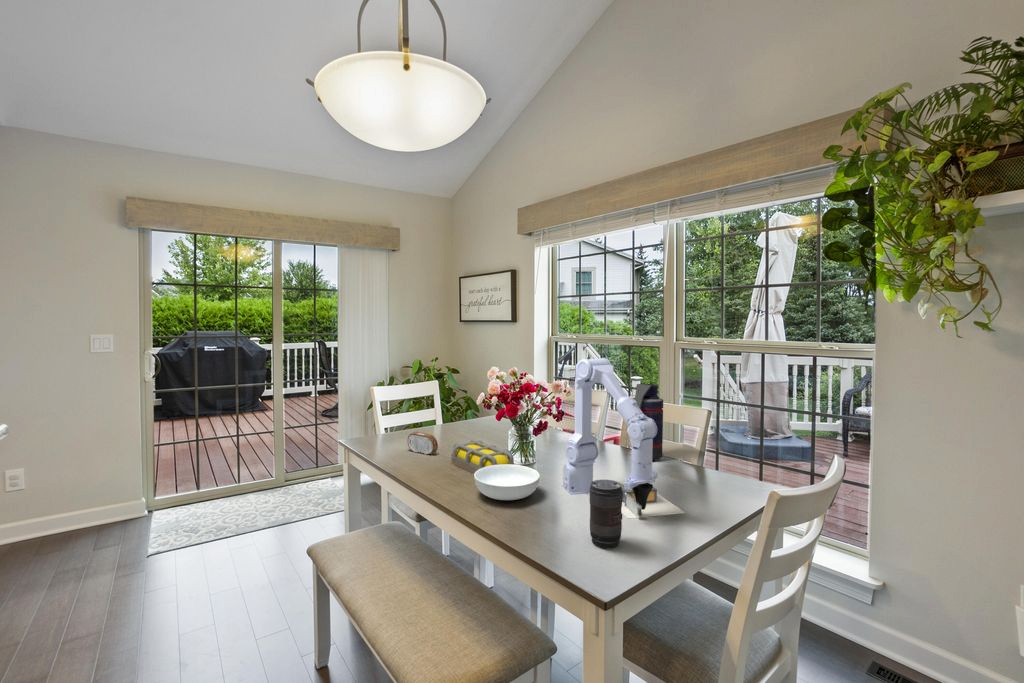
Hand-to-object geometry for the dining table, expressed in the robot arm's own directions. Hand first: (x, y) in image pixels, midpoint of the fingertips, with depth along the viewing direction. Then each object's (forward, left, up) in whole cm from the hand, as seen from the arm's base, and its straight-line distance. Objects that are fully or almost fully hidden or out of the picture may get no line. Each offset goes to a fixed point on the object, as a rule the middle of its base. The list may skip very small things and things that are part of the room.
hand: (641, 508), depth 137 cm
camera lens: (-17, -13, -2) cm, 21 cm away
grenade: (+29, +50, -2) cm, 58 cm away
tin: (-58, +78, -2) cm, 97 cm away
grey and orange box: (+4, +10, -2) cm, 11 cm away
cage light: (-37, +53, -3) cm, 65 cm away
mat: (+4, +6, -2) cm, 8 cm away
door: (-1, +2, -2) cm, 3 cm away
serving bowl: (-34, +24, -2) cm, 42 cm away
